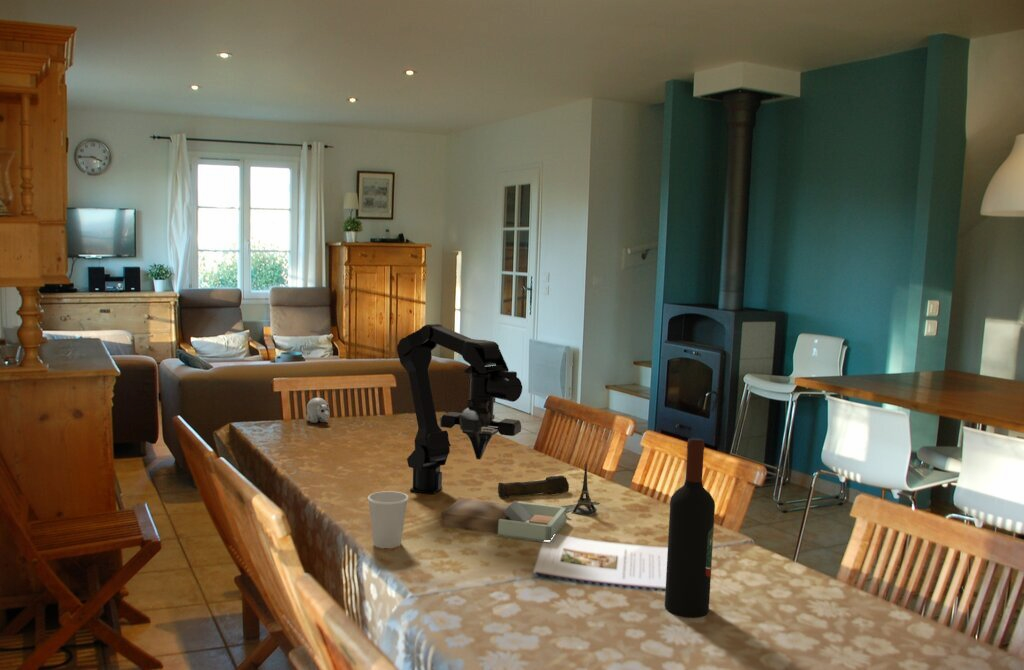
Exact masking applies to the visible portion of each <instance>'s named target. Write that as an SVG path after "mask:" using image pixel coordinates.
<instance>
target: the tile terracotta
mask: <svg viewBox="0 0 1024 670" xmlns="http://www.w3.org/2000/svg"><path fill="white" fill-rule="evenodd" d="M552 518H553V517H551V516H543V515H534V516H533V517H532V518H531V519H530V521H529V523H536V524H544V525H547V524H548V523H549V522H550V521H551V520H552Z"/></svg>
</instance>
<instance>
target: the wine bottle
mask: <svg viewBox="0 0 1024 670" xmlns="http://www.w3.org/2000/svg"><path fill="white" fill-rule="evenodd" d="M686 449H687V452H686V466H685V467H686V470H685V471H686V472H685V482H684V484H683V486H681V487H679V488H678V489H677V490H675V492H673V494H672V495H671V497H670V500H669V501H670V502H669V503H670V505H669V518H668V519H669V520H668V539H667V553H666V555H667V556H666V558H667V559H666V571H665V572H666V575H665V590H664V591H665V593H664V596H665V597H664V608H665V610H666V611H667V612H669V613H670V614H673V615H674V616H677V617H678V616H679V617H681V618H682V617H683V618H692V619H694V618H701V617H705V616H706V615H708V614H709V611H710V599H711V598H710V596H711V595H710V594H711V579H712V565H713V564H712V562H713V561H712V560H713V544H714V529H715V528H714V527H715V512H716V511H715V510H716V504H715V500H714V498H713V497H712V495H711V493H710V492H709V491H708V490H707V489H706V488H705V487H704V486H703V469H704V454H705V452H704V450H705V440H704V439H702V438H698V437H697V438H696V437H691V438H690V437H689V438H688V439H687V443H686Z"/></svg>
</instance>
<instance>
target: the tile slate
mask: <svg viewBox="0 0 1024 670" xmlns="http://www.w3.org/2000/svg"><path fill="white" fill-rule="evenodd" d="M504 513H505V514H506V515H507V516H508V517H509V518H510V519H511V520H513V521H520V522H526V521H527V520H528V519H529V518H530V517H531V515H530V514H529V513H528V512H527V511H526V510H525V509H524V508H523V507H522V506H521V505H520V504H519V503H518V501H517V500H516V499H515V500H513V501H512V503H510V506H509V507H508V508H507V509H506V510H505V511H504Z"/></svg>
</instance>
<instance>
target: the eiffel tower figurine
mask: <svg viewBox="0 0 1024 670" xmlns="http://www.w3.org/2000/svg"><path fill="white" fill-rule="evenodd" d="M584 495H585V497H584ZM598 505H601V503H600V502H599V501H596V500H595V501H592V498H590V493H589V489H588V463H587V462H585V463H584V475H583V481H582V488H581V494H580V496H579V498H578V499H577V503H576V504H569V505H562V506H560V507H567V512H566V514H569V513H571V515H572V514H573V515H574V514H575V515H583V516H592V517H593V516H595V514H596V512H597V510H598V509H597V508H596V507H595V506H598ZM581 506H584V507H581ZM566 520H568V521H573V519H572V518H569V516H568V515H566Z"/></svg>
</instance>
